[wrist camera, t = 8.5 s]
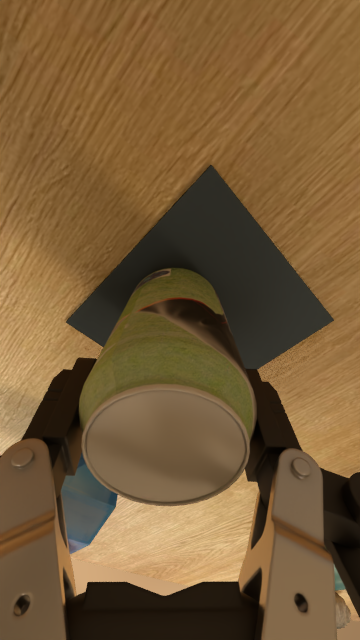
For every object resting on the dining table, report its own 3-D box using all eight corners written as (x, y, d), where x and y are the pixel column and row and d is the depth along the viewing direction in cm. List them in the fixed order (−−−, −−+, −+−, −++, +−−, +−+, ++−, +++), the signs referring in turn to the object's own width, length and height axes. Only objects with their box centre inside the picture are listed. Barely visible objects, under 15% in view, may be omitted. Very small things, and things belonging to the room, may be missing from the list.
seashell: (323, 599, 57) (341, 654, 53) (341, 576, 66) (358, 621, 62) (296, 596, 61) (311, 648, 56) (317, 575, 69) (331, 618, 65)
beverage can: (153, 347, 20) (135, 542, 10) (104, 265, 16) (-2, 445, 6) (231, 321, 19) (296, 512, 9) (197, 226, 15) (244, 372, 5)
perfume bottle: (92, 462, 30) (51, 622, 20) (42, 441, 27) (-34, 612, 17) (126, 439, 27) (99, 607, 17) (74, 413, 25) (8, 593, 15)
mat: (66, 321, 19) (65, 322, 19) (211, 164, 14) (211, 164, 14) (195, 407, 25) (196, 408, 25) (333, 319, 19) (334, 320, 19)
